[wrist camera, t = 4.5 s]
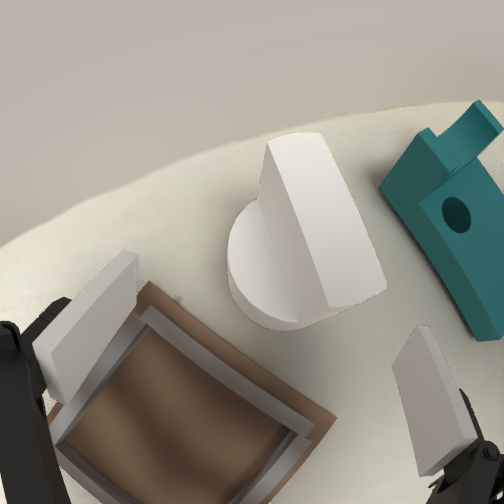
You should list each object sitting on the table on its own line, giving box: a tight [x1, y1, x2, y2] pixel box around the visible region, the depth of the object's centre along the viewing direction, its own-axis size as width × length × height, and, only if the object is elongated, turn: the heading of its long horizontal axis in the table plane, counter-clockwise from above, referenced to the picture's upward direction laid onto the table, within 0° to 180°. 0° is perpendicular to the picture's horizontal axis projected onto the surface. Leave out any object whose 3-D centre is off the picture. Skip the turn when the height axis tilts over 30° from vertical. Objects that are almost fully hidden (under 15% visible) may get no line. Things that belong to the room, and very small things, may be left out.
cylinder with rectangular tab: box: [227, 132, 388, 331], centre depth 20 cm, size 9×9×12 cm
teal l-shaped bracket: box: [379, 100, 504, 342], centre depth 23 cm, size 18×11×10 cm, turn 32°
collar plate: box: [47, 281, 338, 504], centre depth 19 cm, size 18×18×3 cm
